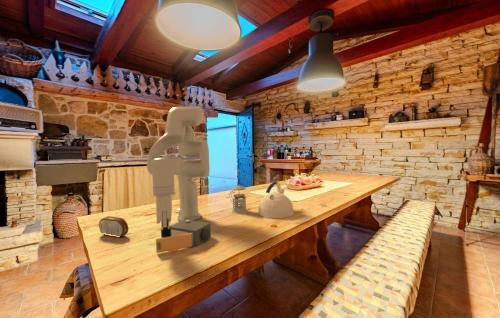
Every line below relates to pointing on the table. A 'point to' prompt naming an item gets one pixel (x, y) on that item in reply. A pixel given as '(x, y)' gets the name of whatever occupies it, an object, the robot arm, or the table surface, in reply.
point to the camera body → (192, 230)
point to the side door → (174, 242)
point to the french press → (239, 200)
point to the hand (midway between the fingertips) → (166, 238)
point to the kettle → (275, 204)
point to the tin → (113, 226)
